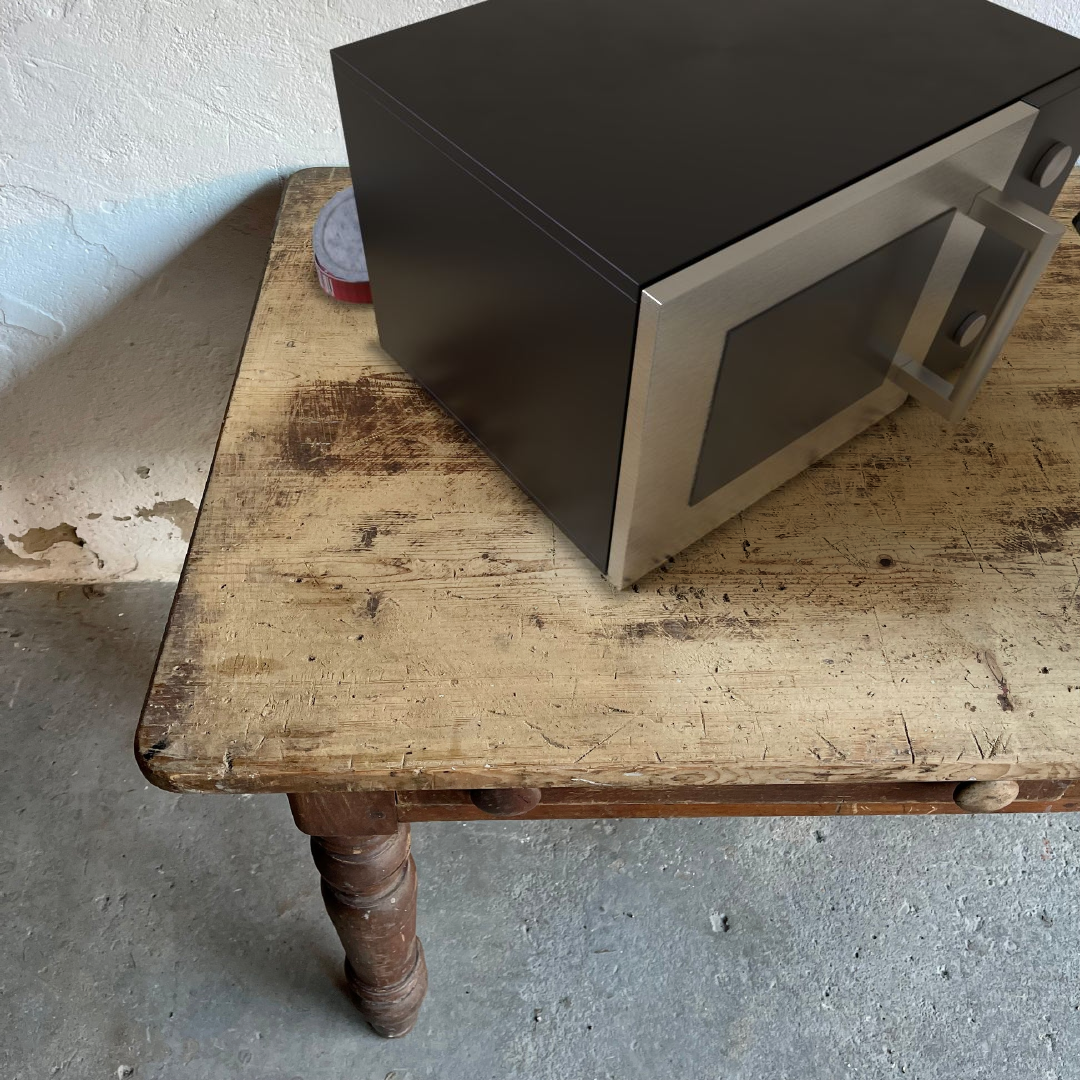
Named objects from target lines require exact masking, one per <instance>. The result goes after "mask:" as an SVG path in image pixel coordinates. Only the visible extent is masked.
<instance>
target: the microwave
mask: <svg viewBox="0 0 1080 1080" xmlns="http://www.w3.org/2000/svg"><path fill="white" fill-rule="evenodd" d="M329 56H330V60H331V68H332V69H331V70H332V74H333V75H332V76H333V80H334V86H335V91H336V98H337V105H338V109H339V116H340V121H341V127H342V132H343V133H342V134H343V138H344V144H345V150H346V156H347V162H348V166H349V173H350V178H351V183H352V184H351V185H353V191H354V197H355V202H356V208H357V214H358V220H359V226H360V231H361V237H362V243H363V249H364V254H365V260H366V266H367V272H368V278H369V283H370V289H371V295H372V301H373V302H372V306H373V312H374V317H375V323H376V329H377V334H378V335H377V336H378V340H379V346H380V347H381V349H382V350H383V351H384V352H385V353H386V354H387V355H388V356H389V357H390V359H392V360H393V361H394V362H395V363H396V364H397V365H398V366H399V367H400V368H401V369H402V371H404V372H405V373H406V374H407V375H408V376H409V377H410V378H411V379H412V380H413V381H414V382H415V383H416V384H417V386H418V387H420V388H421V390H422V391H424V393H425V394H426V395H427V396H429V398H430V399H431V400H432V401H433V402H434V403H435V404H436V405H437V406H438V407H439V408H440V409H441V410H442V411H443V412H444V413H445V414H446V415H447V416H448V417H449V418H450V419H451V420H452V421H453V422H454V423H455V424H456V425H457V426H458V427H459V428H460V430H461V431H462V432H464V433H465V434H466V435H467V436H468V438H469V439H470V440H471V441H472V442H473V443H474V444H475V445H476V446H477V447H478V448H479V449H480V450H481V451H482V452H483V453H484V454H485V455H486V456H487V457H488V459H490V460H491V462H493V463H494V464H495V465H496V466H497V467H498V469H500V470H501V471H502V472H503V473H504V474H505V475H506V476H507V478H509V479H510V481H511V482H512V483H513V484H515V485H516V486H517V488H519V490H520V492H522V493H523V494H524V495H525V496H526V497H527V498H528V499H529V500H530V501H531V502H532V503H533V504H534V505H535V506H536V507H537V508H538V510H540V511H541V512H542V514H544V515H545V516H546V517H547V518H548V519H549V520H550V521H551V523H552V524H553V525H554V526H556V528H557V529H558V530H559V531H560V532H561V533H562V534H563V535H564V536H565V537H566V538H567V539H568V540H569V541H570V542H571V543H572V544H573V545H574V546H575V547H576V548H577V549H578V550H579V551H580V552H581V553H582V554H583V555H584V557H586V558H587V559H588V560H589V561H590V562H591V563H592V565H594V566H595V567H596V569H598V570H599V572H601V574H602V575H603V576H606V575H608V567H609V558H610V550H611V542H612V534H613V526H614V518H615V509H616V501H617V493H618V485H619V477H620V468H621V460H622V452H623V444H624V436H625V428H626V419H627V411H628V403H629V395H630V387H631V378H632V370H633V362H634V354H635V346H636V338H637V329H638V321H639V313H640V305H641V297H642V290H643V289H645V288H647V287H649V286H651V285H653V284H655V283H657V282H659V281H661V280H663V279H665V278H667V277H669V276H671V275H673V274H675V273H677V272H679V271H681V270H683V269H685V268H687V267H689V266H691V265H693V264H695V263H697V262H699V261H701V260H703V259H705V258H707V257H709V256H711V255H713V254H715V253H717V252H719V251H721V250H723V249H725V248H727V247H729V246H731V245H733V244H735V243H737V242H739V241H741V240H743V239H745V238H747V237H749V236H751V235H753V234H755V233H757V232H759V231H761V230H763V229H765V228H767V227H769V226H771V225H773V224H775V223H777V222H779V221H781V220H783V219H785V218H787V217H789V216H791V215H793V214H795V213H797V212H799V211H801V210H803V209H805V208H807V207H809V206H811V205H813V204H815V203H817V202H819V201H821V200H823V199H825V198H827V197H829V196H831V195H833V194H835V193H837V192H839V191H841V190H843V189H845V188H847V187H849V186H851V185H853V184H855V183H857V182H859V181H861V180H863V179H865V178H867V177H869V176H871V175H873V174H875V173H877V172H879V171H881V170H883V169H885V168H887V167H889V166H891V165H893V164H895V163H897V162H899V161H901V160H903V159H905V158H907V157H909V156H911V155H913V154H915V153H917V152H919V151H921V150H923V149H925V148H927V147H929V146H931V145H933V144H935V143H937V142H939V141H941V140H943V139H945V138H947V137H949V136H951V135H953V134H955V133H957V132H959V131H961V130H963V129H965V128H967V127H969V126H971V125H973V124H975V123H977V122H979V121H981V120H983V119H985V118H987V117H989V116H991V115H993V114H995V113H997V112H999V111H1001V110H1003V109H1005V108H1007V107H1009V106H1011V105H1013V104H1014V103H1016V102H1018V101H1022V102H1024V103H1026V104H1028V105H1030V106H1032V107H1035V108H1037V109H1039V113H1038V115H1037V117H1036V119H1035V121H1034V124H1033V126H1032V128H1031V130H1030V132H1029V134H1028V136H1027V139H1026V141H1025V143H1024V145H1023V147H1022V149H1021V152H1020V154H1019V156H1018V158H1017V160H1016V162H1015V165H1014V167H1013V169H1012V171H1011V173H1010V175H1009V177H1008V180H1007V182H1006V184H1005V186H1004V188H1003V190H1002V192H1004V193H1006V194H1008V195H1010V196H1012V197H1014V198H1015V199H1017V200H1019V201H1021V202H1023V203H1025V204H1027V205H1029V206H1031V207H1032V208H1034V209H1036V210H1038V211H1040V212H1042V213H1044V214H1046V215H1048V216H1050V213H1051V211H1052V210H1053V208H1054V205H1055V204H1056V201H1057V200H1058V198H1059V195H1060V194H1061V192H1062V190H1063V188H1064V186H1065V184H1066V182H1067V181H1068V179H1069V177H1070V175H1071V173H1072V171H1073V170H1074V167H1075V165H1076V163H1077V161H1078V160H1079V157H1080V37H1077V36H1075V35H1072V34H1070V33H1067V32H1065V31H1063V30H1060V29H1058V28H1055V27H1053V26H1051V25H1047V24H1046V23H1043V22H1041V21H1039V20H1036V19H1034V18H1032V17H1029V16H1026V15H1024V14H1022V13H1019V12H1017V11H1014V10H1012V9H1009V8H1007V7H1005V6H1002V5H1000V4H997V3H996V2H992V1H990V0H484V1H483V0H482V1H480V2H477V3H473V4H471V5H466V6H464V7H460V8H457V9H455V10H451V11H448V12H445V13H442V14H439V15H435V16H432V17H429V18H427V19H423V20H420V21H419V20H418V21H417V22H413V23H409V24H407V25H404V26H400V27H396V28H394V29H390V30H388V31H387V30H386V31H384V32H381V33H378V34H375V35H371V36H369V37H365V38H362V39H359V40H358V39H357V40H355V41H352V42H349V43H346V44H342V45H339V46H337V47H333V48H330V49H329ZM1024 251H1025V249H1024V248H1023V247H1021V246H1019V245H1017V244H1015V243H1014V242H1012V241H1010V240H1008V239H1006V238H1005V237H1003V236H1001V235H999V234H997V233H996V232H994V231H992V230H990V229H988V228H987V227H985V229H984V231H983V234H982V236H981V238H980V240H979V242H978V244H977V247H976V249H975V251H974V253H973V255H972V257H971V259H970V262H969V264H968V266H967V268H966V270H965V272H964V275H963V277H962V279H961V281H960V283H959V285H958V288H957V290H956V292H955V294H954V296H953V298H952V300H951V303H950V305H949V307H948V309H947V311H946V313H945V316H944V318H943V320H942V322H941V324H940V326H939V329H938V331H937V333H936V335H935V337H934V339H933V342H932V344H931V346H930V348H929V350H928V352H927V354H926V357H925V359H924V361H923V363H922V365H923V366H924V367H926V368H927V369H929V370H930V371H932V372H933V373H935V374H936V375H938V376H939V377H941V378H942V376H944V375H946V373H948V372H950V371H951V370H953V369H955V368H956V367H958V366H959V365H961V364H962V363H964V362H965V361H967V360H968V359H969V357H970V355H971V353H972V352H973V350H974V348H975V346H976V344H977V342H978V340H979V338H980V336H981V334H982V332H983V330H984V328H985V326H986V324H987V322H988V320H989V319H990V317H991V315H992V313H993V311H994V309H995V307H996V305H997V303H998V301H999V299H1000V297H1001V295H1002V293H1003V291H1004V289H1005V287H1006V286H1007V284H1008V282H1009V280H1010V278H1011V276H1012V274H1013V272H1014V270H1015V268H1016V266H1017V264H1018V262H1019V260H1020V258H1021V256H1022V254H1023V253H1024ZM910 397H912V396H911V395H910V394H909V393H908V395H907V398H906V400H907V399H909V398H910Z"/></svg>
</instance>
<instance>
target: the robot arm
mask: <svg viewBox="0 0 1080 1080" xmlns="http://www.w3.org/2000/svg"><path fill="white" fill-rule="evenodd" d="M1071 224H1072V226H1073V228H1074V229H1075V231H1076V233H1077V234H1078V236H1079V237H1080V210H1079V211H1078V212H1077V213H1076V215H1075V216H1073V218H1072V219H1071Z"/></svg>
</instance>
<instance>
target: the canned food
mask: <svg viewBox="0 0 1080 1080" xmlns="http://www.w3.org/2000/svg"><path fill="white" fill-rule="evenodd" d="M312 250H313V251H314V253H313V261H314V263H315V268H316V273H317V277H318V281H319V284H320V286H321V288H322V290H323V291H324V292H325V293H326V294H328V295H329V296H330V297H332V298H334V299H336V300H339V301H342V302H346V303H351V304H371V303H372V304H373V301H372V295H371V289H370V283H369V278H368V272H367V266H366V260H365V254H364V249H363V243H362V237H361V231H360V226H359V220H358V214H357V208H356V202H355V197H354V191H353V185H352V184H351V185H350V186H348V187H346V188H344V189H341V190H340V191H337V192H336V193H334V195H333V196H332V197H331V198H330V199H329V201H328V202H326V204H325V205H324V206H323V207H322V208H321V209H320V210H319V213H318V215H317V218H316V219H315V223H314V225H313V227H312Z"/></svg>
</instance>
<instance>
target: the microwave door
mask: <svg viewBox="0 0 1080 1080" xmlns="http://www.w3.org/2000/svg"><path fill="white" fill-rule="evenodd" d="M1038 113H1039V109H1037V108H1035V107H1032V106H1030V105H1028V104H1026V103H1024V102H1022V101H1018V102H1016V103H1014V104H1013V105H1011V106H1009V107H1007V108H1005V109H1003V110H1001V111H999V112H997V113H995V114H993V115H991V116H989V117H987V118H985V119H983V120H981V121H979V122H977V123H975V124H973V125H971V126H969V127H967V128H965V129H963V130H961V131H959V132H957V133H955V134H953V135H951V136H949V137H947V138H945V139H943V140H941V141H939V142H937V143H935V144H933V145H931V146H929V147H927V148H925V149H923V150H921V151H919V152H917V153H915V154H913V155H911V156H909V157H907V158H905V159H903V160H901V161H899V162H897V163H895V164H893V165H891V166H889V167H887V168H885V169H883V170H881V171H879V172H877V173H875V174H873V175H871V176H869V177H867V178H865V179H863V180H861V181H859V182H857V183H855V184H853V185H851V186H849V187H847V188H845V189H843V190H841V191H839V192H837V193H835V194H833V195H831V196H829V197H827V198H825V199H823V200H821V201H819V202H817V203H815V204H813V205H811V206H809V207H807V208H805V209H803V210H801V211H799V212H797V213H795V214H793V215H791V216H789V217H787V218H785V219H783V220H781V221H779V222H777V223H775V224H773V225H771V226H769V227H767V228H765V229H763V230H761V231H759V232H757V233H755V234H753V235H751V236H749V237H747V238H745V239H743V240H741V241H739V242H737V243H735V244H733V245H731V246H729V247H727V248H725V249H723V250H721V251H719V252H717V253H715V254H713V255H711V256H709V257H707V258H705V259H703V260H701V261H699V262H697V263H695V264H693V265H691V266H689V267H687V268H685V269H683V270H681V271H679V272H677V273H675V274H673V275H671V276H669V277H667V278H665V279H663V280H661V281H659V282H657V283H655V284H653V285H651V286H649V287H647V288H645V289H643V290H642V297H641V305H640V313H639V321H638V329H637V338H636V346H635V354H634V362H633V370H632V378H631V387H630V395H629V403H628V411H627V419H626V428H625V436H624V444H623V452H622V460H621V468H620V477H619V485H618V493H617V501H616V509H615V518H614V526H613V534H612V542H611V550H610V558H609V567H608V574H606V575H607V576H606V578H607V580H608V581H609V582H610V583H611V584H612V585H613V586H614V587H615V588H616V589H617V590H618V591H619V592H620V591H623V590H624V589H626V588H627V587H629V586H630V585H632V584H633V583H635V582H636V581H638V580H639V579H641V578H642V577H644V576H645V575H646V574H648V573H650V572H651V571H652V570H654V569H656V568H657V567H659V566H660V565H662V564H664V563H665V562H666V561H669V560H670V559H671V558H673V557H674V556H675V555H677V554H679V553H680V552H681V551H682V550H683V551H684V550H685V549H686V548H688V547H689V546H690V545H692V544H694V543H695V542H697V541H698V540H700V539H701V538H702V537H704V536H706V535H707V534H709V533H710V532H712V531H714V530H715V529H716V528H718V527H720V526H721V525H723V524H725V522H727V521H728V520H730V519H731V518H733V517H734V516H736V515H738V514H740V513H741V512H742V511H743V510H745V509H747V508H748V507H749V506H751V505H753V504H754V503H756V502H757V501H759V500H761V499H762V498H763V497H765V496H767V495H768V494H769V493H771V492H772V491H774V490H775V489H777V488H779V487H780V486H782V485H783V484H784V483H786V482H787V481H789V480H791V479H792V478H794V477H795V476H796V475H799V473H802V471H804V470H806V469H807V468H809V467H811V466H812V465H813V464H815V463H816V462H818V461H819V460H821V459H823V458H824V457H826V456H827V455H828V454H830V453H832V452H833V451H834V450H836V449H837V448H839V447H840V446H842V445H844V444H845V443H847V442H848V441H850V440H851V439H853V438H854V437H856V436H857V435H859V434H861V433H862V432H863V431H865V430H866V429H868V428H869V427H871V426H872V425H874V424H876V423H877V422H878V421H880V420H882V419H883V418H884V417H886V416H887V415H889V414H890V413H892V412H894V411H895V410H897V409H898V408H900V407H901V406H902V405H904V404H905V402H906V400H907V399H908V398H907V395H908V393H909V394H910V395H911V396H910V397H912V398H914V399H916V400H917V401H918V402H920V403H921V404H923V405H925V406H926V407H927V408H928V409H930V410H931V411H933V412H935V414H937V415H939V416H940V417H942V418H943V419H944V420H946V421H948V422H951V423H960V422H962V421H963V420H964V418H965V417H966V415H967V413H968V411H969V409H970V408H971V405H972V404H973V402H974V400H975V398H976V397H977V395H978V392H979V391H980V390H981V387H982V386H983V384H984V382H985V381H986V378H987V376H988V375H989V373H990V371H991V369H992V367H993V366H994V363H995V361H996V360H997V358H998V356H999V354H1000V352H1001V351H1002V349H1003V347H1004V345H1005V343H1006V342H1007V340H1008V338H1009V336H1010V335H1011V332H1012V330H1014V327H1015V325H1016V323H1017V321H1018V320H1019V318H1020V317H1021V314H1022V312H1023V310H1024V309H1025V307H1026V305H1027V303H1028V302H1029V300H1030V297H1031V296H1032V294H1033V293H1034V290H1035V289H1036V287H1037V285H1038V283H1039V282H1040V279H1041V278H1042V276H1043V274H1044V272H1045V270H1046V268H1047V267H1048V265H1049V263H1050V261H1051V260H1052V257H1053V256H1054V254H1055V253H1056V251H1057V249H1058V247H1059V245H1060V243H1061V242H1062V240H1063V238H1064V236H1065V234H1066V232H1067V228H1066V225H1064V224H1063V223H1062V222H1060V221H1059V220H1057V219H1055V218H1053V217H1052V216H1050V215H1046V214H1044V213H1042V212H1040V211H1038V210H1036V209H1034V208H1032V207H1031V206H1029V205H1027V204H1025V203H1023V202H1021V201H1019V200H1017V199H1015V198H1014V197H1012V196H1010V195H1008V194H1006V193H1004V192H1002V190H1003V188H1004V186H1005V184H1006V182H1007V180H1008V177H1009V175H1010V173H1011V171H1012V169H1013V167H1014V165H1015V162H1016V160H1017V158H1018V156H1019V154H1020V152H1021V149H1022V147H1023V145H1024V143H1025V141H1026V139H1027V136H1028V134H1029V132H1030V130H1031V128H1032V126H1033V124H1034V121H1035V119H1036V117H1037V115H1038ZM985 227H987V228H988V229H990V230H992V231H994V232H996V233H997V234H999V235H1001V236H1003V237H1005V238H1006V239H1008V240H1010V241H1012V242H1014V243H1015V244H1017V245H1019V246H1021V247H1023V248H1024V249H1025V251H1024V253H1023V254H1022V256H1021V258H1020V260H1019V262H1018V264H1017V266H1016V268H1015V270H1014V272H1013V274H1012V276H1011V278H1010V280H1009V282H1008V284H1007V286H1006V287H1005V289H1004V291H1003V293H1002V295H1001V297H1000V299H999V301H998V303H997V305H996V307H995V309H994V311H993V313H992V315H991V317H990V319H989V320H988V322H987V324H986V326H985V328H984V330H983V332H982V334H981V336H980V338H979V340H978V342H977V344H976V346H975V348H974V350H973V352H972V353H971V355H970V357H969V358H968V359H967V360H966V364H965V365H964V367H963V369H962V371H961V373H960V375H959V376H958V379H957V381H956V382H955V385H953V384H951V383H950V382H948V381H947V380H945V379H944V378H942V376H941V377H939V376H938V375H936V374H935V373H933V372H932V371H930V370H929V369H927V368H926V367H924V366H923V365H922V363H923V361H924V359H925V357H926V354H927V352H928V350H929V348H930V346H931V344H932V342H933V339H934V337H935V335H936V333H937V331H938V329H939V326H940V324H941V322H942V320H943V318H944V316H945V313H946V311H947V309H948V307H949V305H950V303H951V300H952V298H953V296H954V294H955V292H956V290H957V288H958V285H959V283H960V281H961V279H962V277H963V275H964V272H965V270H966V268H967V266H968V264H969V262H970V259H971V257H972V255H973V253H974V251H975V249H976V247H977V244H978V242H979V240H980V238H981V236H982V234H983V231H984V229H985ZM906 398H907V399H906Z"/></svg>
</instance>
